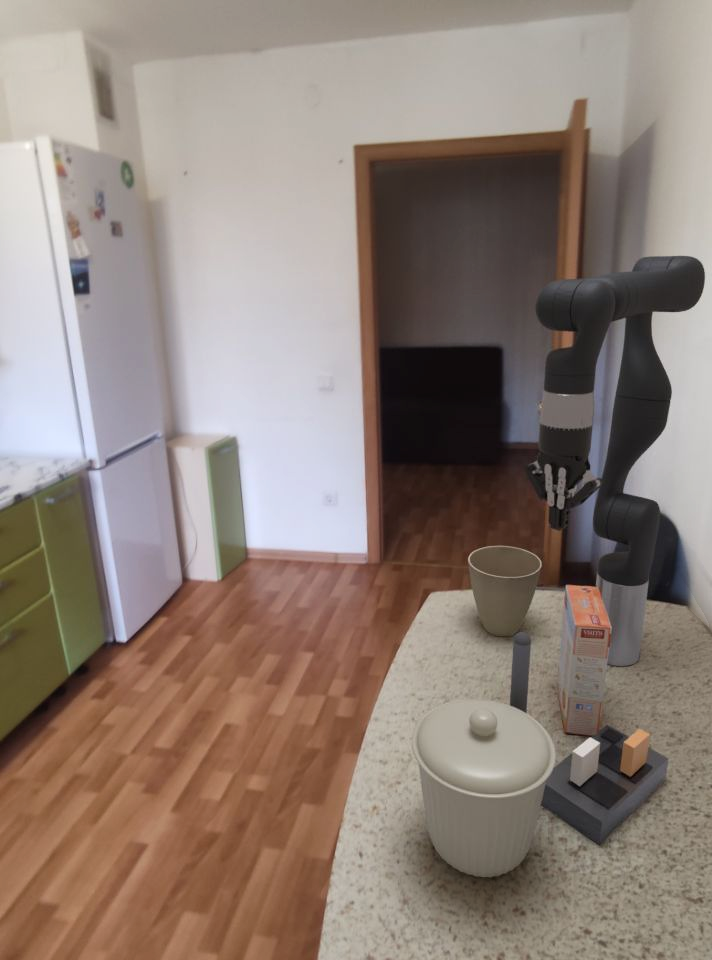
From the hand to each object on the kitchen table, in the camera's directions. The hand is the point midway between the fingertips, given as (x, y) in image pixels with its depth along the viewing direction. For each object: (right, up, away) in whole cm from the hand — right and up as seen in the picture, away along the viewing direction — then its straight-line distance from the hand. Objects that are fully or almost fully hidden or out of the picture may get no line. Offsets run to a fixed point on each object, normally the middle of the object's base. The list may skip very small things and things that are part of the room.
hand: (558, 528), depth 103 cm
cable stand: (-8, -38, -3) cm, 39 cm away
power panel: (+5, -39, -6) cm, 39 cm away
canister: (-15, -42, -13) cm, 47 cm away
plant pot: (0, -24, +38) cm, 45 cm away
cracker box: (+7, -33, +12) cm, 36 cm away
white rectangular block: (+1, -35, -8) cm, 36 cm away
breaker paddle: (+9, -35, -7) cm, 37 cm away
